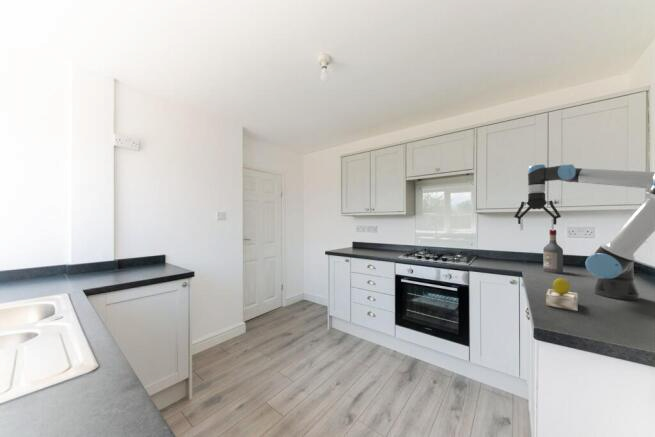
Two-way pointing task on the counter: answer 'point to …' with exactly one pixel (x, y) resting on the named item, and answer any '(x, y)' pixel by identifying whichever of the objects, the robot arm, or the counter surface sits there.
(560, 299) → the display riser
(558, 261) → the liquor
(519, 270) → the counter surface
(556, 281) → the lemon
